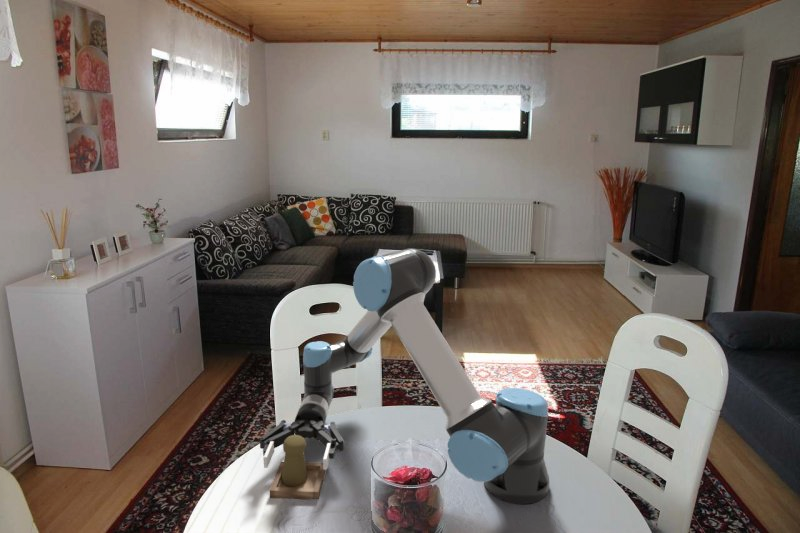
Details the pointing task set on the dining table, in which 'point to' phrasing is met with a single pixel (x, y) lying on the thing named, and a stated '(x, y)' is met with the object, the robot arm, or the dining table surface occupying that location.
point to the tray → (303, 491)
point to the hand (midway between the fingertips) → (295, 463)
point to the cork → (294, 461)
